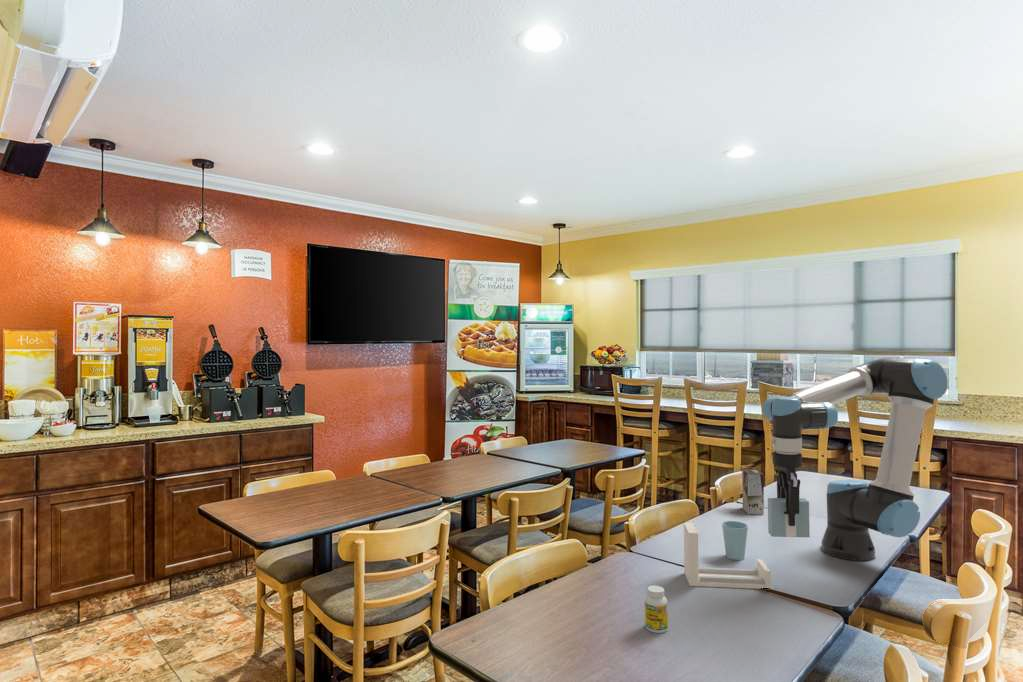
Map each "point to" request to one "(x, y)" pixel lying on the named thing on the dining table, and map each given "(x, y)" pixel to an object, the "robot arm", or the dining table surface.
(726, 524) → the cup
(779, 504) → the door panel
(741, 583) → the track board
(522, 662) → the dining table surface
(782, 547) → the dining table surface
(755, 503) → the coffee box
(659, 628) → the supplement bottle
